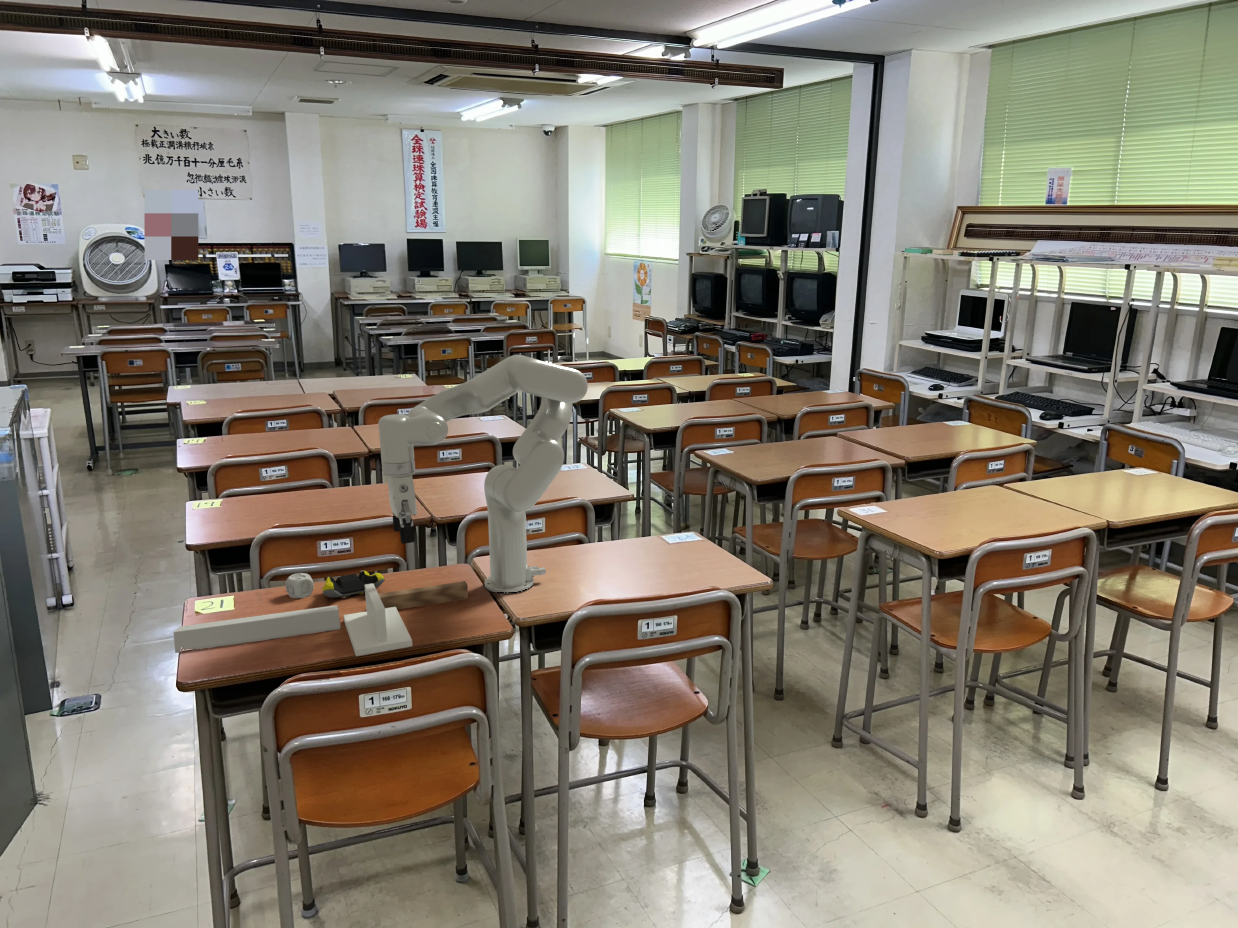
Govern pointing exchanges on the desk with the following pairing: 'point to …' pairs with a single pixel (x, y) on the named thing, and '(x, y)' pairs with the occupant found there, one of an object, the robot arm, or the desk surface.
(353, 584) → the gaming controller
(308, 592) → the die
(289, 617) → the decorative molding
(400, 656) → the desk surface
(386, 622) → the stand
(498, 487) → the robot arm
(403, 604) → the walnut batten
